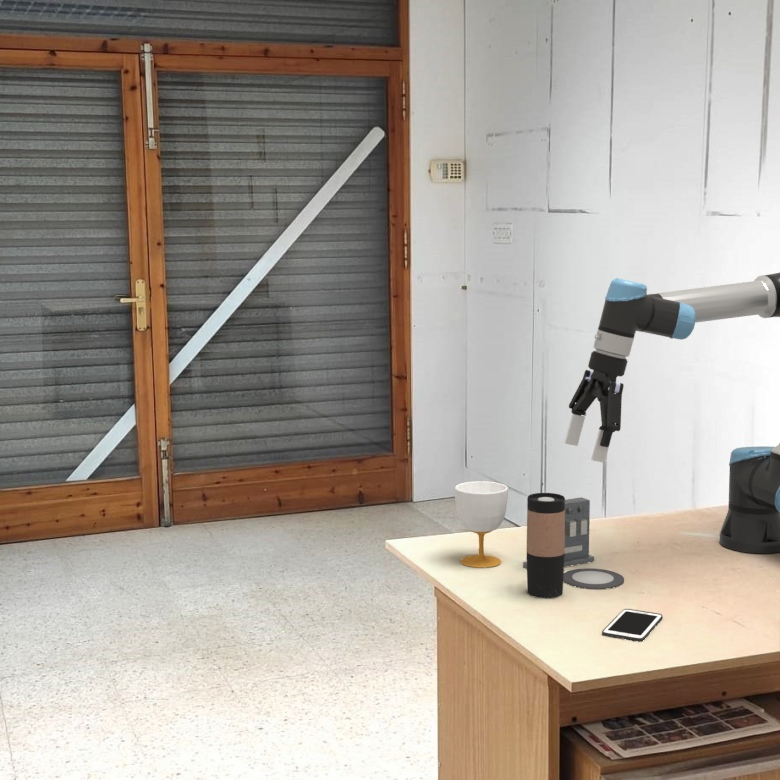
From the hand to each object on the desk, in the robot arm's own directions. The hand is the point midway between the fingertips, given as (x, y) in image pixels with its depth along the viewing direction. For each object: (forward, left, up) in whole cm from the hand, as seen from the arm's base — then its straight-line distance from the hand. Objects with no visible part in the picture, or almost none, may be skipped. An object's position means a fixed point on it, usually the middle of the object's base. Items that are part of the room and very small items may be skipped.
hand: (584, 452), depth 234 cm
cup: (+24, +1, -27) cm, 36 cm away
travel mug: (+3, +13, -27) cm, 30 cm away
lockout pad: (-2, 0, -27) cm, 27 cm away
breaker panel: (+8, -6, -27) cm, 29 cm away
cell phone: (-19, +22, -28) cm, 40 cm away
